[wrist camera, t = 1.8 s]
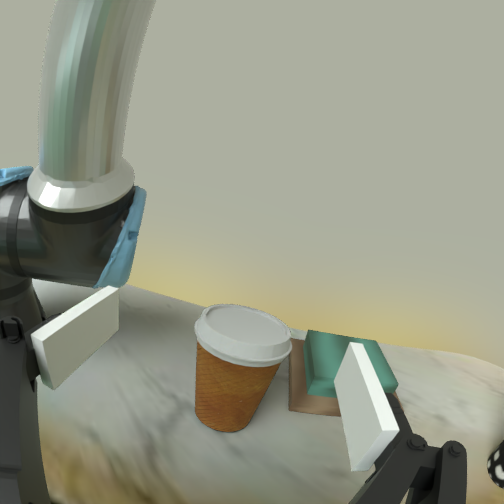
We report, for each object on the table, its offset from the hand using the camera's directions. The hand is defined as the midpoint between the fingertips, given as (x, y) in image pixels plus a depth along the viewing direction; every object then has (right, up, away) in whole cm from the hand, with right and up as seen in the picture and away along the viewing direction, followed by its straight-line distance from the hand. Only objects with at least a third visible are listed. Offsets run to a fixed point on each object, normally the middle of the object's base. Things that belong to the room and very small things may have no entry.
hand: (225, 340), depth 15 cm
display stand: (+15, -15, +23) cm, 31 cm away
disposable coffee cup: (-2, -14, +13) cm, 19 cm away
